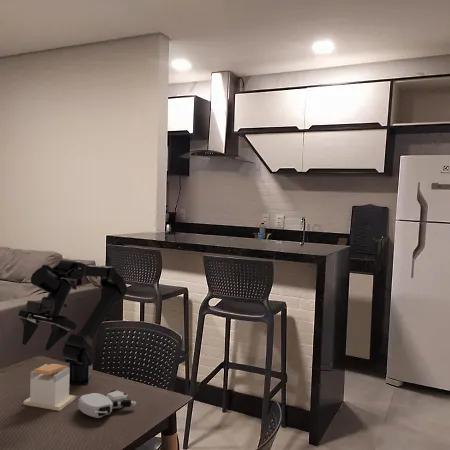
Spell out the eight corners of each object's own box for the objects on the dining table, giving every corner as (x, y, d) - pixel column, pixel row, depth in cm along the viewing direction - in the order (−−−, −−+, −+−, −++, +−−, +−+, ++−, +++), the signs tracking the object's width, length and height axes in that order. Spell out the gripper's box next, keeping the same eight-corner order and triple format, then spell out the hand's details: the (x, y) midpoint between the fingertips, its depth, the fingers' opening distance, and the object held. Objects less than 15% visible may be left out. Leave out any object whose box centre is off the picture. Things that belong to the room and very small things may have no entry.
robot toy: (116, 398, 138) (70, 409, 127) (117, 384, 138) (72, 394, 127) (138, 413, 130) (91, 426, 119) (139, 398, 129) (93, 409, 119)
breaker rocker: (52, 369, 136) (53, 363, 136) (65, 371, 135) (66, 365, 135) (33, 375, 128) (34, 369, 128) (48, 377, 126) (48, 371, 127)
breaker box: (40, 393, 137) (41, 362, 137) (75, 398, 134) (75, 367, 134) (23, 404, 129) (24, 372, 129) (59, 410, 127) (60, 377, 126)
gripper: (17, 284, 133) (-8, 334, 127) (63, 292, 126) (39, 345, 119) (41, 297, 142) (19, 344, 136) (86, 305, 135) (65, 356, 128)
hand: (34, 347), depth 129 cm, fingers open, 9 cm apart
